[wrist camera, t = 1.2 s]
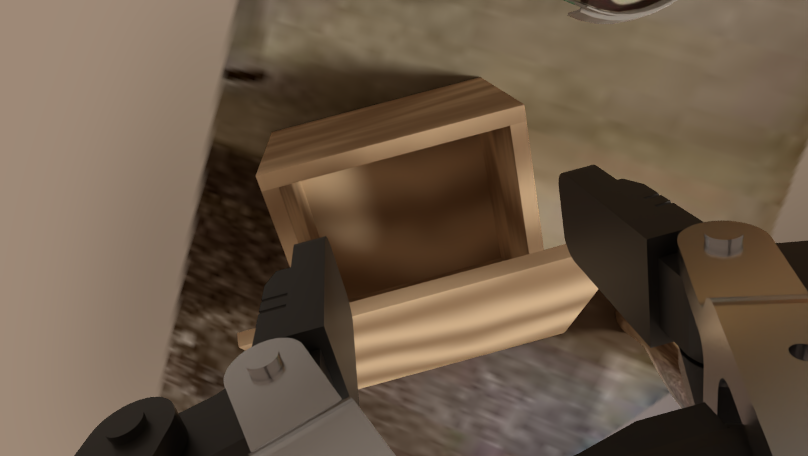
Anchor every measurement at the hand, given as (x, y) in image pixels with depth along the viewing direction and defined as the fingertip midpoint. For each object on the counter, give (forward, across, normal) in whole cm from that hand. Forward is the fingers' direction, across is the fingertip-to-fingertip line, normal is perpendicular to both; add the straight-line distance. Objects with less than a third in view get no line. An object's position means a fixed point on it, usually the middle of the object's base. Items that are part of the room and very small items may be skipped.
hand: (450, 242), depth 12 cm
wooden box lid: (+14, 0, +13) cm, 19 cm away
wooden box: (+29, 0, +11) cm, 31 cm away
